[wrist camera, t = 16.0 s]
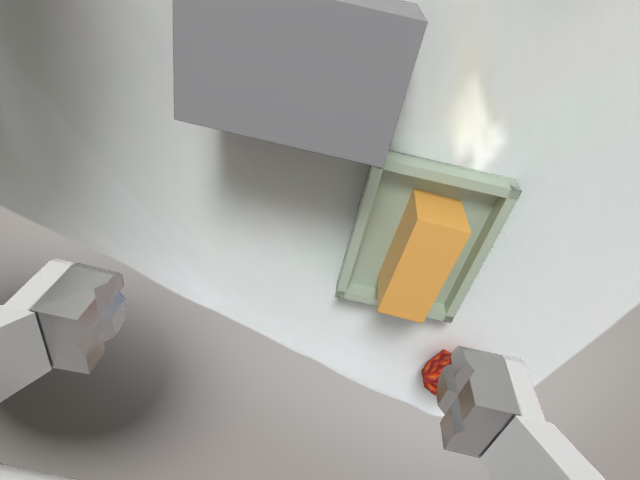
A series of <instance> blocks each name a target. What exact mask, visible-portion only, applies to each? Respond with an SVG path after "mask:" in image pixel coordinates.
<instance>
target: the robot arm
mask: <svg viewBox="0 0 640 480" xmlns="http://www.w3.org/2000/svg"><path fill="white" fill-rule="evenodd" d="M123 286H124V281H123V275H122V274H120V273H118V272H114V271H110V270H105V269H102V268H97V267H93V266H89V265H85V264H81V263H75V262H71V261H67V260H63V259H59V258H55V259H53V260H50V261H49V262H48V263H47V264H45V266H44V267H42V268H41V269H40V270H39V271H38V272H37V273H36V274H35V275H34V276H33V277H32V278H31V279H30V280H29V281H28V282H27V283H26V284H25V285H24V286H23V287H22V288H21V289H20V290H19V291H18V292H16V293H15V294H14V295H13V297H11V299H9V300H8V301H7V302H6V303H5V304H4V305H0V402H2V401H3V400H5V399H6V398H8V397H10V396H11V395H13V394H14V393H16V392H17V391H19V390H20V389H22V388H24V387H25V386H27V385H28V384H30V383H32V382H33V381H35V380H36V379H38V378H39V377H41V376H42V375H44V374H46V373H47V372H49V371H50V370H51V369H52V368H57V369H63V370H68V371H74V372H80V373H85V374H90V373H91V371H92V370H93V368H94V367H95V365H96V364H97V362H98V361H99V359H100V358H101V356H102V355H103V353H104V352H105V348H104V342H105V341H106V340H109V339H110V338H112V337H114V336H115V335H116V334H117V332H118V330H119V329H120V327H121V325H122V323H123V320H124V317H125V314H126V298H125V297H124V296H123V295H122V294H121V293H120V290H121V289H122V287H123ZM451 360H452V364H450V365H448V366H446V367H444V368H443V370H442V372H441V374H440V376H439V380H438V384H437V402H438V406H439V407H440V409H441V410H442V411H443V413H444V414H445V416H444V417H443V419H442V421H441V422H440V425H441V432H442V439H443V447H444V449H445V450H448V451H453V452H457V453H461V454H465V455H469V456H473V457H477V458H480V459H479V461H480V463H481V464H482V466H483V467H484V469H485V471H486V472H487V474H488V475H489V477H490V479H491V480H605V479H604V478H603V477H602V476H601V475H600V474H599V473H598V472H597V470H596V469H595V468H594V467H593V466H592V465H591V464H590V463H589V462H588V461H587V460H586V459H585V458H584V457H583V455H582V454H581V453H580V452H579V451H578V450H577V449H576V448H575V447H574V446H573V445H572V444H571V443H570V442H569V441H568V439H567V438H566V437H565V436H564V435H563V434H562V433H561V432H560V431H559V430H558V429H557V428H556V427H555V426H554V425H553V424H552V423H549V422H546V421H545V418H544V415H543V413H542V410H541V407H540V404H539V401H538V399H537V396H536V393H535V390H534V387H533V385H532V382H531V379H530V376H529V374H528V371H527V368H526V365H525V363H524V362H523V361H522V360H521V359H519V358H514V357H509V356H504V355H498V354H495V353H490V352H485V351H480V350H475V349H471V348H466V347H461V346H458V347H457V348H456V349H455V350H454V351H453V353H452V354H451ZM51 367H52V368H51ZM0 480H78V479H73V478H68V477H63V476H59V475H54V474H49V473H44V472H39V471H34V470H29V469H25V468H20V467H15V466H10V465H5V464H1V463H0Z"/></svg>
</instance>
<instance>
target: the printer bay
mask: <svg viewBox="0 0 640 480" xmlns="http://www.w3.org/2000/svg"><path fill="white" fill-rule="evenodd" d="M427 23H428V21H427V20H426V18H425V17H424V15H423V13H422V12H421V10H420V8H419V7H418V5H417V4H414V3H410V2H405V1H401V0H173V66H174V120H179V121H183V122H187V123H192V124H196V125H200V126H205V127H209V128H213V129H218V130H222V131H226V132H231V133H235V134H239V135H244V136H248V137H252V138H256V139H261V140H265V141H269V142H274V143H278V144H282V145H287V146H291V147H295V148H300V149H304V150H308V151H313V152H317V153H321V154H326V155H330V156H334V157H339V158H343V159H347V160H352V161H356V162H360V163H365V164H369V165H373V166H377V167H382V168H383V166H384V163H385V160H386V156H387V153H388V150H389V147H390V143H391V140H392V137H393V133H394V130H395V127H396V124H397V120H398V117H399V114H400V111H401V107H402V104H403V101H404V98H405V94H406V91H407V88H408V85H409V81H410V78H411V75H412V72H413V68H414V65H415V62H416V58H417V55H418V52H419V49H420V45H421V42H422V39H423V36H424V32H425V29H426V26H427Z"/></svg>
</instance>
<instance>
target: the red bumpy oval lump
mask: <svg viewBox="0 0 640 480" xmlns="http://www.w3.org/2000/svg"><path fill="white" fill-rule="evenodd" d="M450 364H452V360H451V353H449V352H447V351H446V350H442V351H441V352H440V353H438V354H437V355H436V356H434V357H433V358H432V359H431V360H429V361H428V362H427V364H426V365H425V367H424V368H423V369H422V377H423V383H424V387H425V388H426V389H427V390H429V391H430V392H431V393H432V394H434V395H436V396H437V384H438V380H439V376H440V374H441V372H442V370H443V368H444V367H446V366H448V365H450Z"/></svg>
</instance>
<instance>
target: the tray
mask: <svg viewBox="0 0 640 480" xmlns="http://www.w3.org/2000/svg"><path fill="white" fill-rule="evenodd" d="M414 188H416V189H420V190H423V191H427V192H431V193H435V194H438V195H442V196H446V197H450V198H454V199H457V200H461V201H462V205H463V208H464V211H465V214H466V218H467V221H468V224H469V227H470V230H471V235H470V237H469V239H468V240H467V242H466V244H465V246H464V248H463V250H462V252H461V253H460V255H459V257H458V259H457V261H456V263H455V264H454V266H453V268H452V270H451V272H450V274H449V276H448V277H447V279H446V281H445V283H444V285H443V287H442V289H441V290H440V292H439V294H438V296H437V298H436V300H435V302H434V303H433V305H432V307H431V309H430V311H429V313H428V314H427V316H426V317H427V318H431V319H435V320H440V321H444V322H449V323H451V322H452V320H453V318H454V317H455V315H456V313H457V311H458V309H459V307H460V305H461V304H462V302H463V300H464V298H465V296H466V294H467V292H468V291H469V289H470V287H471V285H472V283H473V281H474V279H475V278H476V276H477V274H478V272H479V270H480V268H481V267H482V265H483V263H484V261H485V259H486V257H487V255H488V254H489V252H490V250H491V248H492V246H493V244H494V242H495V241H496V239H497V237H498V235H499V233H500V231H501V229H502V228H503V226H504V224H505V222H506V220H507V218H508V216H509V215H510V213H511V211H512V209H513V207H514V205H515V203H516V202H517V200H518V198H519V196H520V194H521V192H522V191H521V189H520V187H519V185H518V184H517V182H516V180H515V179H511V178H507V177H502V176H498V175H494V174H489V173H485V172H481V171H476V170H472V169H468V168H463V167H459V166H455V165H451V164H446V163H442V162H438V161H433V160H429V159H425V158H420V157H416V156H412V155H407V154H403V153H399V152H394V151H390V150H388V153H387V156H386V160H385V163H384V166H383V168H382V167H377V166H373V165H371V166H370V170H369V173H368V177H367V180H366V184H365V187H364V191H363V194H362V198H361V201H360V205H359V208H358V212H357V215H356V219H355V222H354V226H353V229H352V233H351V236H350V240H349V243H348V247H347V250H346V254H345V257H344V261H343V264H342V268H341V271H340V275H339V278H338V281H337V287H336V295H335V297H339V298H343V299H348V300H352V301H357V302H361V303H365V304H370V305H374V306H377V296H378V274H379V272H380V269H381V267H382V264H383V262H384V259H385V257H386V254H387V252H388V250H389V247H390V245H391V242H392V240H393V237H394V235H395V232H396V230H397V228H398V225H399V223H400V220H401V218H402V215H403V213H404V210H405V208H406V206H407V203H408V201H409V198H410V196H411V193H412V191H413V189H414Z"/></svg>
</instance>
